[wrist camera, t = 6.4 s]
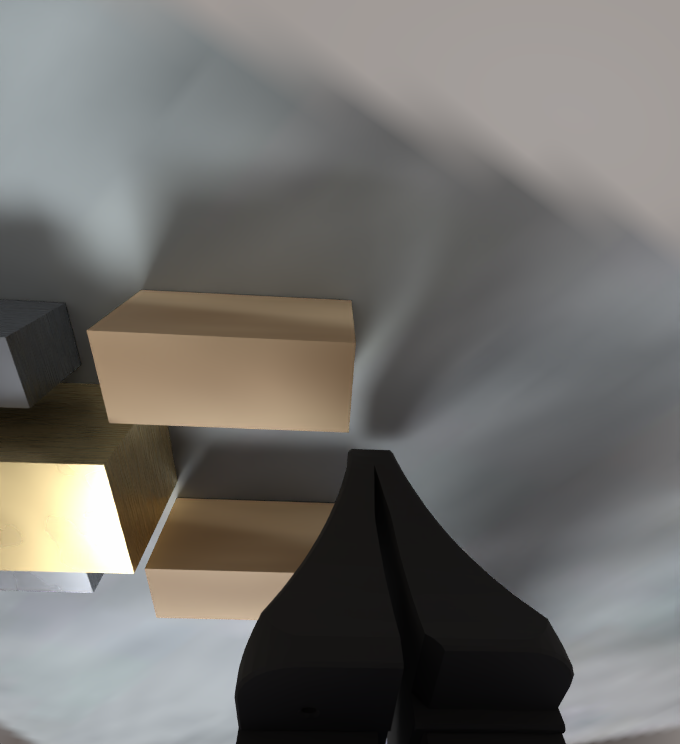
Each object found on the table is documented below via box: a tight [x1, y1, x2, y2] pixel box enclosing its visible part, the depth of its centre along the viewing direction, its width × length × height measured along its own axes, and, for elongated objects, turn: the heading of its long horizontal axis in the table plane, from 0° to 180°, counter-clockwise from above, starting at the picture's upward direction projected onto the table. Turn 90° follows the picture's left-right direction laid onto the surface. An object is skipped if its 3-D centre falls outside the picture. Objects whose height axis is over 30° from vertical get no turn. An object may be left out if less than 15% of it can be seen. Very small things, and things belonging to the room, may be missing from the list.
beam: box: [87, 290, 356, 620], centre depth 13 cm, size 10×6×3 cm, turn 177°
